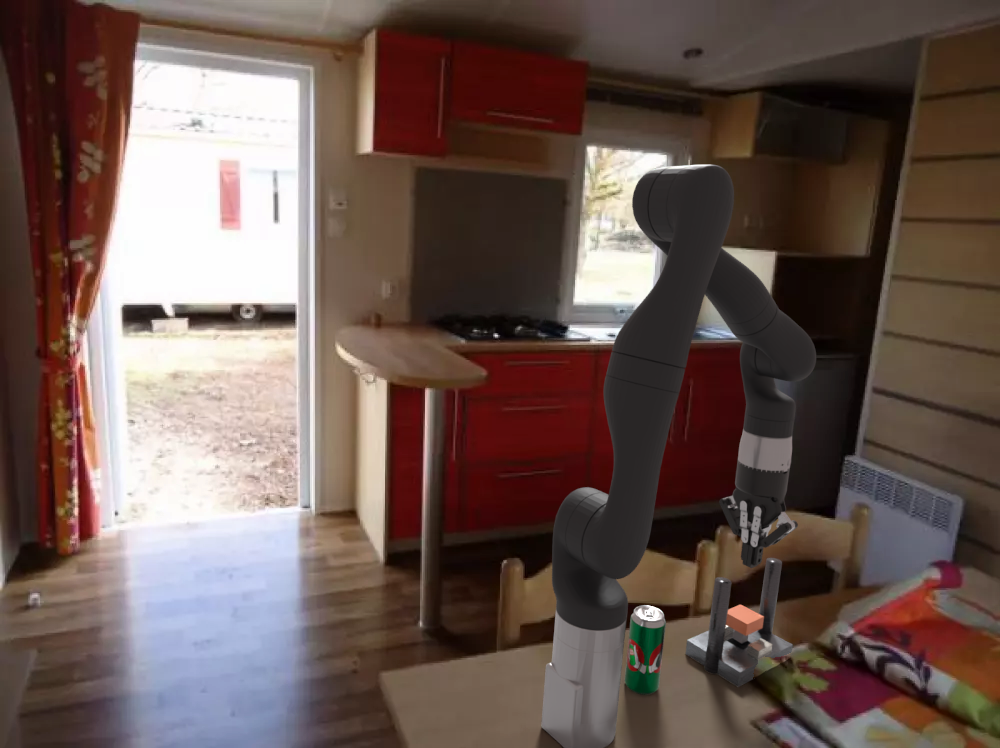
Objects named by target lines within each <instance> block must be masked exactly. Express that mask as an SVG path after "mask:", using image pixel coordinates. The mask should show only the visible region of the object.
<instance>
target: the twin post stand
mask: <svg viewBox="0 0 1000 748" xmlns="http://www.w3.org/2000/svg"><path fill="white" fill-rule="evenodd" d="M765 561H766V562H765V568H764V575H763V582H762V583H763V584H762V588H761V589H762V591H761V596H760V604H759V610H758V614H760V615H762V616H764V621H763V628H761V629H759V630H757V631H755V632H753V633H751V634H749V635H748V641H746V642H744V643H740V642H738V641H737V640H735V639H733V636H734V629H732V628H731V627H729V626H727V625H726V621H727V613H728V609H729V604H730V598H731V597H730V596H731V591H732V590H731V589H732V580H730V579H729V578H727V577H721V576H718V577H715V579H714V584H713V591H712V592H713V595H712V600H711V601H712V602H711V609H710V610H711V611H710V617H709V627H708V630H706V631H704V632H702V633H700V634H697V635H695V636H693V637H691V638H688V639H687V640H686V646H685V655H687V656H688V657H690V658H691V659H692V660H693V661H694V660H695V662H697V663H699V664H700V665H702V666H704V667H703V668H704V671H706V672H707V673H709V674H711V675H718V676H720V677H721V678H722V679H724V680H726V681H728V683H731V684H732V685H734V686H736V687H737V688H739V687H741V686H742V685H744V684H746V683H748V682H750V681H752V680H754V679H753V677H754V674H753V673H754V669H755V667H756V665H757V664H758V659H760V658H762V657H764V656H765V657H771V658H775V657H781V656H784V655H787V654H789V653H791V652H792V653H793V647H794V645H793V643H791V642H789V641H786V640H785V639H783V638H781V637H780V636H777V635H776V634H774V633H773V630H774V629H773V628H774V621H775V617H776V608H777V600H778V593H779V587H780V580H781V573H782V572H781V571H782V567H783V561H782V560H781V559H779V558H777V557H776V558H775V557H767V558H766V560H765Z"/></svg>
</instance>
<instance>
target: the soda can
mask: <svg viewBox="0 0 1000 748" xmlns="http://www.w3.org/2000/svg"><path fill="white" fill-rule="evenodd" d="M666 624H667V621H666V619H665V614H664V612H663V611H662V610H661V609H660V608H658V607H655V606H653V605H652V606H651V605H645V604H644V605H639V606H636V607H635V608H634V609H633V613H632V614H631V615H630V622H629V632H628V642H627V650H626V651H627V652H626V660H625V661H626V662H625V671H624V683H625V685H626V687H627V688H628V689H629V690H630V691H631V692H633V693H635V694H637V695H643V696H647V695H648V696H649V695H652V694H654V693H655V692H657V691H658V690H659V688H660V681H661V674H662V672H661V671H662V663H663V662H662V661H663V653H664V644H665V637H666V636H665V634H666V626H667V625H666Z"/></svg>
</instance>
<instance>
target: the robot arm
mask: <svg viewBox="0 0 1000 748" xmlns="http://www.w3.org/2000/svg"><path fill="white" fill-rule="evenodd" d="M734 188H735V187H734V184H733V181H732V178H731V176H730V174H729V173H728V171H727V170H726V169H725V168H724V167H722V166H720V165H716V164H691V165H671V166H662V167H661V166H660V167H657V168H654V169H651V170H649V171H647V172H646V173H645V174H642V176H641V178H640V179H639V180H638V181H637V183H636V185H635V188H634V190H633V194H632V201H631V202H632V203H631V205H632V206H631V207H632V214H633V217H634V219H635V222H636V224H637V226H638V227H639V229H640V230H641V232H642V233H643V234H644V235H645V236H646V237H647V238H648V239H649V240H650V241H651V242H652V243H653V244H654V245H655V246H656V247H657V248H658V249H660V250H661V251H662V252H663V253H664V254H665V255H666V257H667V258H666V259H665V263H664V266H663V268H662V271H661V274H659V277H658V279H657V281H656V282H655V284H654V286H653V288H652V289H651V290H650V291H649V292H648V294H647V295H646V296H645V298H644V299H643V300H642V301H641V303H639V304H638V306H637V307H636V309H635V310H634V311H633V312H632V313H631V315H630V316H629V317H628V318H627V320H626V321H625V323H624V324H623V325H622V327H621V328H620V330H619V331H618V333H617V335H616V338H615V340H614V343H613V345H612V349H611V354H610V356H609V361H608V366H607V371H606V375H605V377H604V383H603V401H604V409H605V414H606V419H607V425H608V429H609V433H610V437H611V444H612V449H613V468H612V469H613V471H612V478H611V482H610V488H609V491H608V493H606V492H603V491H602V490H598V489H596V488H593V487H589V486H587V487H585V486H584V487H580V488H579V487H578V488H577V489H575V490H573V491H571V492H570V493H569V494H568V495H566V497H565V498H563V499H564V500H562V503H561V504H560V506H559V508H558V510H557V512H556V515H555V519H554V525H553V532H552V533H553V534H552V550H551V551H552V555H551V558H552V559H551V587H552V590H553V593H554V596H555V599H556V601H555V603H556V604H555V615H554V617H555V618H554V628H553V629H554V632H553V642H552V643H553V645H552V653H551V655H552V656H551V657H552V658H551V662H549V663H546V665H545V671H544V672H545V674H544V687H543V700H542V701H543V702H542V715H541V723H540V724H541V726H540V727H541V728H542V729H543V730H544V731H546V732H547V734H549V736H551V737H552V738H553V739H554V740H556V742H557V743H558V744H560V745H561V746H562V747H563V748H606V747H608V746H610V744H611V743H613V741H614V739H615V737H616V733H617V732H616V731H617V723H618V722H617V721H618V720H617V719H618V710H619V701H620V700H619V699H620V690H621V689H620V688H621V678H622V669H623V659H624V658H623V657H624V648H625V637H626V628H627V619H628V609H629V608H628V607H629V602H628V596H627V593H626V592H625V589H624V588H623V586H622V585H621V584H620V583H619V581H618V580H622V579H624V578H626V577H628V576H630V575H631V574H632V573H633V572H634V571H635V570H636V569H637V567H638V566H639V564H640V563H641V561H642V559H643V556H644V555H645V552H646V550H647V547H648V543H649V540H650V536H651V531H652V525H653V518H654V515H655V507H656V506H655V505H656V499H657V492H658V486H659V479H660V474H661V467H662V464H663V459H664V453H665V450H666V446H667V441H668V436H669V432H670V428H671V423H672V419H673V416H674V412H675V408H676V405H677V402H678V399H679V396H680V391H681V387H682V384H683V380H684V375H685V373H686V367H687V363H688V359H689V353H690V348H691V345H692V341H693V338H694V333H695V330H696V326H697V322H698V319H699V316H700V315H699V314H700V312H701V308H702V304H703V301H704V299H705V296H706V298H707V299H708V301H709V302H710V303H711V304H712V305H713V307H714V308H715V310H716V312H717V313H718V314H719V316H720V317H721V319H722V320H723V321H724V323H725V324H726V326H727V327H728V329H729V330H730V331H731V333H732V334H733V335H734V336H735V338H736V339H737V340H738V341H740V342H742V343H741V347H740V352H739V364H740V373H741V379H742V383H743V384H742V385H743V392H744V397H745V404H746V405H745V412H744V419H743V420H744V421H743V429H742V435H741V437H740V440H739V441H740V442H739V445H738V446H739V447H738V456H737V464H736V471H735V481H734V485H735V489H733V492H732V495H730V496H726V497H723V498H720V499H719V500H718V501H719V506H720V507H721V510H722V512H723V515H724V516H725V520H726V521H727V523H728V526H729V527H730V530H731V532H732V534H733V535H736V536H738V537H739V538H740V539H741V541H742V543H741V552H740V553H741V554H740V558H741V559H740V560H742V565H744V566H746V567H748V568H750V569H754V568H756V567H757V566H759V565H761V563H762V561H763V554H764V548H765V549H766V548H769V547H770V546H773V545H776V544H778V543H779V542H780V541H782V540H783V539H784V538H786V537H787V536H788V535H790V534H791V533H792V532H793V531H795V530H796V529H797V528H798V526H799V524H798V521H796V520H794V519H793V520H791V518H790V517H789V515H788V514H787V513H786V511H787V507H786V502H785V498H786V494H787V491H788V483H789V476H790V470H791V469H790V468H791V464H792V453H793V433H794V432H793V431H794V423H795V419H796V412H797V411H796V410H797V408H796V407H797V406H796V401H795V400H794V398H792V397H790V396H789V395H787V394H786V393H784V392H782V391H781V390H779V389H778V387H777V386H776V382H775V379H776V380H781V381H785V382H788V383H789V382H792V383H793V382H801V381H802V380H804V379H806V378H808V376H810V375H811V373H812V372H813V370H814V369H815V366H816V363H817V352H816V348H815V344H814V342H813V339H812V338H811V337H810V336H809V334H808V333H807V332H806V331H805V330H804V329H803V328H802V327H801V326H799V325H798V323H796V322H795V321H794V320H793V319H792V318H791V317H790V316H789V315H787V314H786V313H785V312H783V311H782V310H780V309H779V306H778V305H777V304H776V301H775V300H774V298H773V297H772V295H771V293H770V292H769V290H768V289H767V287H766V285H765V284H764V282H763V281H762V280H761V279H760V277H759V276H758V275H756V273H754V271H752V270H751V269H750V268H749V267H747V266H746V265H745V264H744V263H742V262H741V261H740V260H739V259H737V258H736V257H735V256H733V255H732V254H731V253H730V252H728V251H726V250H725V249H724V248H723V245H724V241H725V239H726V236H727V232H728V230H729V226H730V224H731V221H732V215H733V211H734V203H735V189H734ZM777 520H778V521H777ZM776 521H777V522H776ZM775 522H776V525H775V527H776V528H775V530H772V532H770V531H771V529H772V525H773V524H774V523H775ZM769 532H770V533H769Z"/></svg>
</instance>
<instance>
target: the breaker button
mask: <svg viewBox="0 0 1000 748" xmlns="http://www.w3.org/2000/svg"><path fill="white" fill-rule="evenodd" d="M763 621H764V616H762V615H760V614H759V612H756V611H754V610H752V609H750V608H748V607H746V606H744V605H742V604H738V605H736V606H734V607H731V608H728V613H727V621H726V625H727V626H729V627H731V628H732V629H734V636H733V639H735V640H737V641H738V642H740V643H744V642H746V641H748V635H749V634H751V633H753V632H755V631H757V630H759V629H761V628H763Z"/></svg>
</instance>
